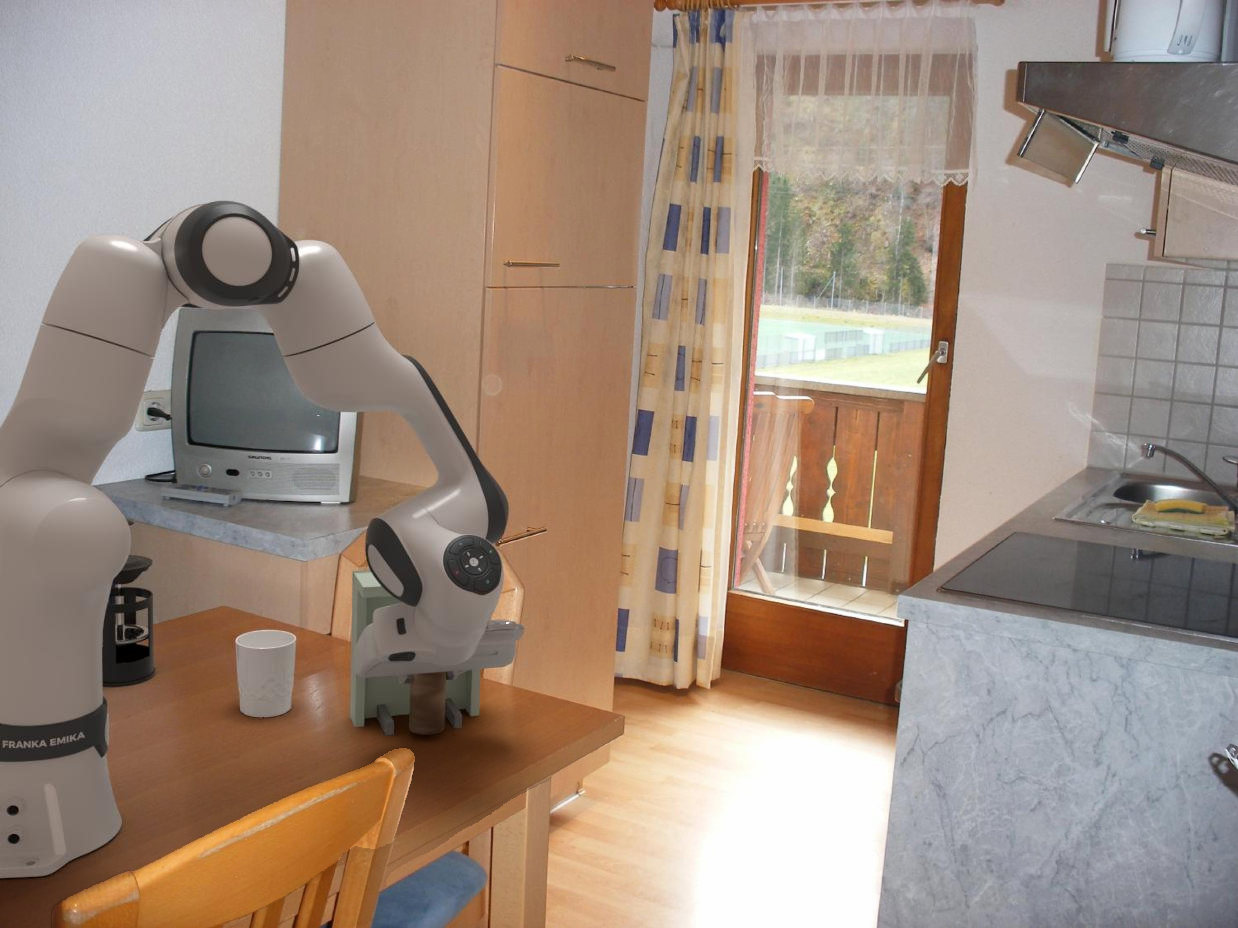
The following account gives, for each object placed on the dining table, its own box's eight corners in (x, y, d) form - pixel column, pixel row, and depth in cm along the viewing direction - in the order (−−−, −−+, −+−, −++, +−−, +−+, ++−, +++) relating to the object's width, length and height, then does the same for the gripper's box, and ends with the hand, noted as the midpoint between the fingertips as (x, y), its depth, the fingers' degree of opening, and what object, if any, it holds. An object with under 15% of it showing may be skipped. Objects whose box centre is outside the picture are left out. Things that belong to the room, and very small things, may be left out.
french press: (168, 665, 175) (167, 514, 171) (148, 687, 166) (146, 529, 162) (87, 663, 174) (84, 511, 170) (62, 685, 165) (58, 526, 161)
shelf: (360, 738, 153) (363, 587, 149) (350, 716, 160) (352, 570, 156) (486, 726, 159) (492, 580, 156) (471, 704, 166) (476, 565, 163)
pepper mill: (413, 736, 152) (415, 654, 150) (405, 722, 156) (407, 643, 154) (448, 732, 154) (450, 652, 152) (439, 719, 158) (442, 640, 156)
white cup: (278, 722, 156) (278, 650, 155) (224, 715, 158) (224, 644, 156) (305, 702, 164) (306, 633, 162) (253, 695, 165) (253, 626, 164)
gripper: (523, 600, 149) (499, 649, 160) (361, 609, 142) (347, 660, 152) (532, 644, 146) (507, 692, 156) (367, 656, 138) (352, 705, 149)
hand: (427, 676), depth 154 cm, fingers closed on pepper mill, 5 cm apart
